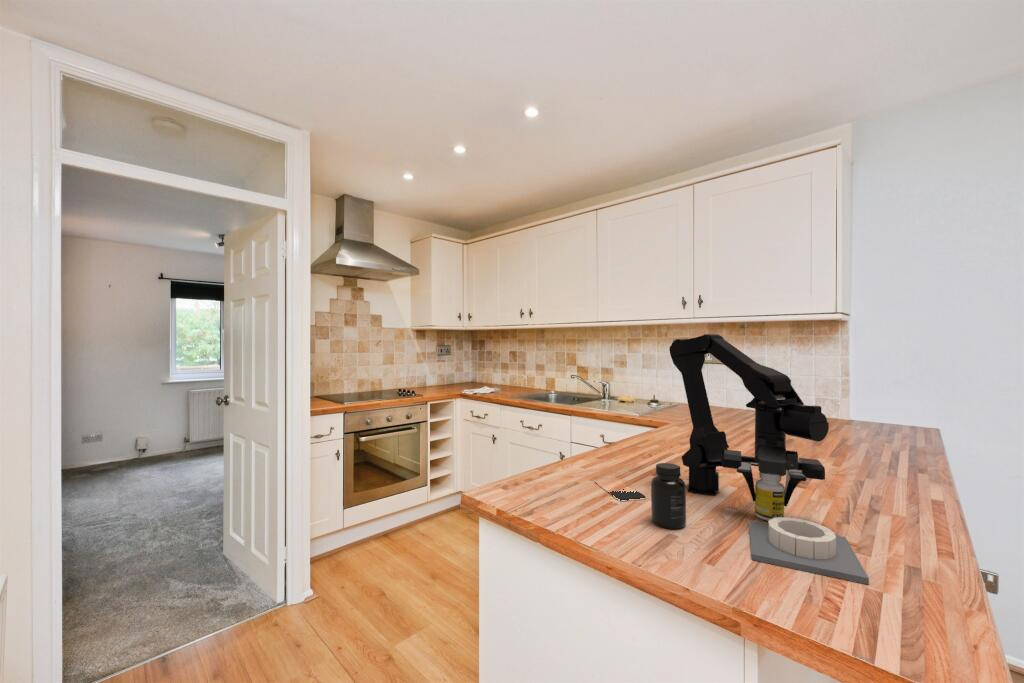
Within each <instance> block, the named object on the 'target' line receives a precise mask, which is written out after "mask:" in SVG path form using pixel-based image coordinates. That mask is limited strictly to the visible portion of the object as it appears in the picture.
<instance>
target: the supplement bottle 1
mask: <svg viewBox="0 0 1024 683" xmlns="http://www.w3.org/2000/svg"><path fill="white" fill-rule="evenodd" d="M655 474H656V476H654V477H653V478H652V479H651V482H650V486H651V488H650V489H651V490H650V494H651V495H650V496H651V497H650V498H651V500H650V501H651V504H650V505H651V506H650V508H651V509H650V510H651V521H652V523H653V524H654V525H656V526H657V527H660V528H663V529H666V530H667V529H668V530H679V529H682V528H683V529H684V527H685V526H686V524H687V495H686V494H687V491H686V486H687V485H686V483H685V481H684V480H683V479H682V478H680V477H681V475H682V474H681V466H680V465H678V464H675V463H671V462H670V463H669V462H660V463H657V464H656V465H655Z"/></svg>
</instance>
